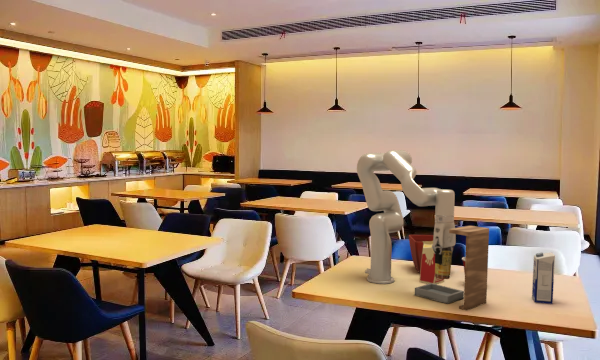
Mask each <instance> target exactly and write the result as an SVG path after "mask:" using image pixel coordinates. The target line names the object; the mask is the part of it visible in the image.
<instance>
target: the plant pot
mask: <svg viewBox="0 0 600 360" xmlns="http://www.w3.org/2000/svg"><path fill="white" fill-rule="evenodd" d="M433 237H434V234H432V235H431V234H409V235H408V241H409V247H410V255H411V258H412V262H413V266H414V269H415V270H416V271H417V272H418V273H419V274H420V269H421V259H422V252H423V245H424V243H423V242H425V241H433ZM454 247H455V246H454ZM454 247H453V249H454Z"/></svg>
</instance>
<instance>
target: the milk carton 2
mask: <svg viewBox="0 0 600 360" xmlns="http://www.w3.org/2000/svg"><path fill="white" fill-rule="evenodd" d="M555 256H556V255H555V254H554V253H553V252H545V253H544V252H538V253H535V255H533V269H532V289H531V290H532V291H531V298H532V299H531V300H533V302H534V303H537V304H547V305H553V302H554V285H555V284H554V283H555V279H554V278H555V263H556V261H555V260H556V257H555Z"/></svg>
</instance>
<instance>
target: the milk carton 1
mask: <svg viewBox="0 0 600 360" xmlns="http://www.w3.org/2000/svg"><path fill="white" fill-rule="evenodd" d="M423 243H424V245H423V252H422V259H421V269H420V273H419V283H423V284H430V283H433V284H437V285H440V284H442V283H445V279H439V278H436V277H435V264H436V263H435V254H434V250H433V248H432V245H433V241H425V242H423Z"/></svg>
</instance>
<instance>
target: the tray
mask: <svg viewBox="0 0 600 360" xmlns="http://www.w3.org/2000/svg"><path fill="white" fill-rule="evenodd" d="M413 293H414V296H418V297H421V298H424V299H425V298H426V299H429V300H432V301H436V302H439V303H442V304H447V305H448V304H451V303H454V302H457V301H460V300H462V299H463V300H464V290H461V289H457V288H453V287H450V286H449V287H448V286H445V285H440V284H433V283H430V284H427V283H425V284H424V285H419V286H416V287H414V292H413Z"/></svg>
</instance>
